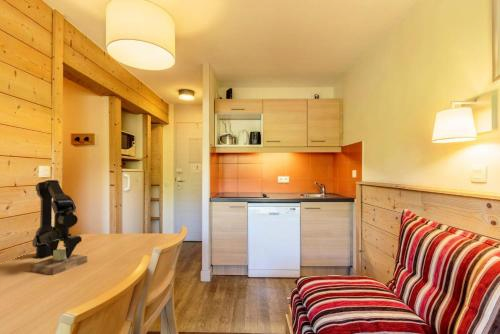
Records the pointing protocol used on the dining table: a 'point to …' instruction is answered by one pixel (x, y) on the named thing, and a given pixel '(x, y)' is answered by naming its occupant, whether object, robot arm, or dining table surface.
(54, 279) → the dining table surface
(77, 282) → the dining table surface
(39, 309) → the dining table surface
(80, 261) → the board
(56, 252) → the peg
